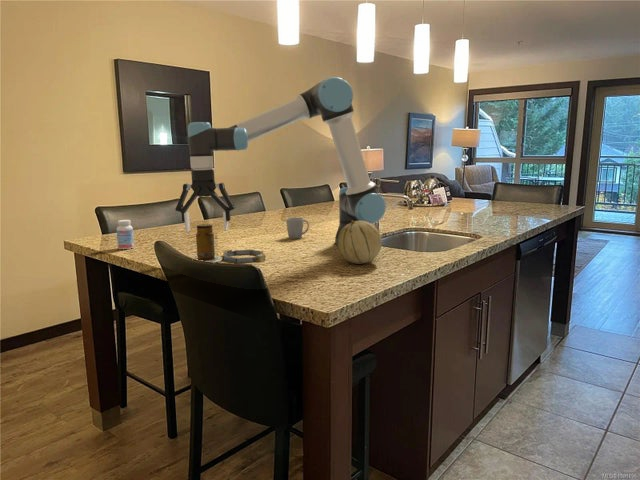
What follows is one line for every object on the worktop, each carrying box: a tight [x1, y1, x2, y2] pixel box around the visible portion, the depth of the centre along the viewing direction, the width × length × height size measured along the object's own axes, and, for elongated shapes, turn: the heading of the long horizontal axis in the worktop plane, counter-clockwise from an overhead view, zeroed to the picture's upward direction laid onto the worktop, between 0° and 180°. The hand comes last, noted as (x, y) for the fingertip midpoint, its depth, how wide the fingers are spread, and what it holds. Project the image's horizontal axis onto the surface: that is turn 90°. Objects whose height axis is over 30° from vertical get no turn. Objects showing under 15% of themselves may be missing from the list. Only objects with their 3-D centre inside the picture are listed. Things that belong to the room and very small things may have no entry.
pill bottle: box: [116, 219, 135, 251], centre depth 189 cm, size 6×6×11 cm
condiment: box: [194, 223, 224, 261], centre depth 167 cm, size 7×8×12 cm
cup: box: [285, 216, 310, 240], centre depth 209 cm, size 8×10×8 cm
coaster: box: [211, 255, 223, 263], centre depth 168 cm, size 10×10×1 cm
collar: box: [223, 248, 266, 264], centre depth 171 cm, size 18×14×2 cm
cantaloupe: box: [337, 221, 383, 265], centre depth 161 cm, size 15×15×15 cm
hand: (207, 230), depth 166 cm, fingers open, 13 cm apart
